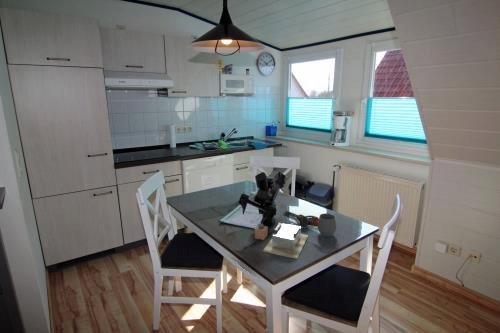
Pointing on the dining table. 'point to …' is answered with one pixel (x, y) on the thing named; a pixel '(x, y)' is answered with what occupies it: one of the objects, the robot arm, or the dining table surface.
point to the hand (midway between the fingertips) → (252, 218)
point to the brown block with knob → (261, 232)
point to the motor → (286, 236)
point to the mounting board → (287, 253)
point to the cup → (326, 225)
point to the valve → (305, 219)
